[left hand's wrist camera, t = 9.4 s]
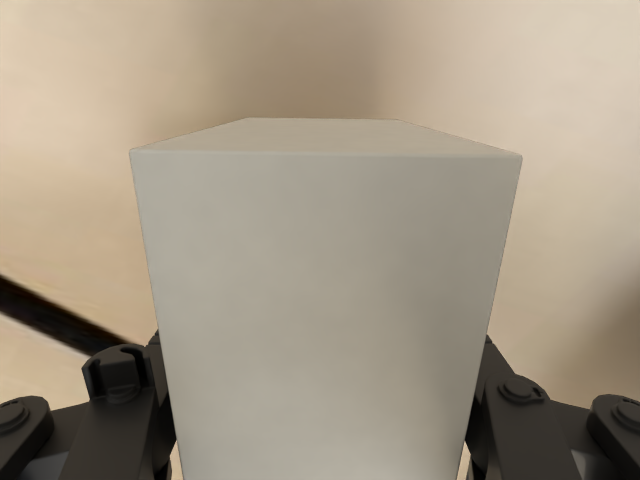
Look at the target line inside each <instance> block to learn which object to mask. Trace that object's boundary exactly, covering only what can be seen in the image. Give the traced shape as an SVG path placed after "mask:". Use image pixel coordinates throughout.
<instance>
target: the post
mask: <svg viewBox="0 0 640 480" xmlns="http://www.w3.org/2000/svg"><path fill="white" fill-rule="evenodd" d="M129 156H130V162H131V168H132V174H133V180H134V186H135V192H136V198H137V204H138V210H139V216H140V222H141V228H142V234H143V240H144V246H145V252H146V258H147V264H148V270H149V276H150V282H151V288H152V294H153V300H154V306H155V312H156V318H157V324H158V330H159V336H160V342H161V348H162V354H163V360H164V366H165V372H166V378H167V384H168V390H169V396H170V402H171V408H172V414H173V420H174V426H175V432H176V438H177V444H178V450H179V456H180V462H181V468H182V474H183V480H456V479H457V475H458V470H459V465H460V460H461V455H462V450H463V445H464V441H465V436H466V431H467V426H468V421H469V416H470V411H471V407H472V402H473V397H474V392H475V387H476V382H477V378H478V373H479V368H480V363H481V358H482V353H483V348H484V344H485V339H486V334H487V329H488V324H489V319H490V314H491V310H492V305H493V300H494V295H495V290H496V285H497V281H498V276H499V271H500V266H501V261H502V256H503V251H504V247H505V242H506V237H507V232H508V227H509V222H510V217H511V213H512V208H513V203H514V198H515V193H516V188H517V184H518V179H519V174H520V169H521V164H522V155H520V154H517V153H513V152H510V151H506V150H503V149H499V148H495V147H492V146H488V145H485V144H481V143H478V142H474V141H471V140H467V139H464V138H460V137H457V136H453V135H450V134H446V133H443V132H439V131H436V130H432V129H429V128H425V127H421V126H418V125H414V124H411V123H407V122H404V121H400V120H393V119H324V118H256V117H248V118H244V119H241V120H237V121H233V122H229V123H226V124H222V125H218V126H215V127H211V128H207V129H204V130H200V131H196V132H192V133H189V134H185V135H181V136H178V137H174V138H170V139H167V140H163V141H159V142H156V143H152V144H148V145H144V146H141V147H137V148H133V149H131V150H130V151H129Z"/></svg>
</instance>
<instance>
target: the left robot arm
mask: <svg viewBox="0 0 640 480" xmlns="http://www.w3.org/2000/svg"><path fill="white" fill-rule="evenodd" d="M81 369H82V372H83V376H84V379H85V383H86V387H87V390H88V394H89V397H90V400H89V402H86V403H83V404H79V405H75V406H70V407H66V408H62V409H57V410H53V411H51V410H50V407H49V404H48V402H47V401H46V400H45V399H44V398H43V397H38V396H26V397H19V398H16V399H13V400H10V401H7V402H4V403H2V404H0V480H171V476H172V468H171V461H170V454H171V452H172V449H173V447H174V444H175V442H176V440H177V438H176V432H175V426H174V420H173V414H172V408H171V402H170V396H169V390H168V384H167V378H166V372H165V366H164V360H163V354H162V348H161V342H160V336H159V330H157V331H156V333H155V336H153V337H152V338H151V340H150V341H149V342H148V345H146V347H144V346H142V345H138V344H121V345H117V346H113V347H110V348H107V349H105V350H103V351H101V352H99V353H97V354H95V355H94V356H93V357H91V358H90V359H88V360H87V362H86V363H85V364H84V365H83V367H82V368H81ZM465 442H466V444H467V447H468V449H469V451H470V454H471V456H470V461H469V466H468V471H467V476H466V480H640V402H638V401H635V400H633V399H630V398H627V397H624V396H619V395H612V394H606V395H599V396H598V397H597V398H595V399H594V400H593V402H592V405H591V408H590V409H585V408H581V407H577V406H572V405H568V404H563V403H559V402H556V401H553V400H550V398H549V396H548V395H547V393H546V392H545V390H544V389H542V388H541V387H540V386H539V385H538V384H536V383H535V382H533V381H531V380H529V379H527V378H525V377H523V376H520V375H517V374H515V373H514V371H513V370H512V369H511V367H510V366H509V364H508V363H507V362H506V360H505V359H504V357H503V356H502V355H501V353H500V352H499V350H498V349H497V347H496V346H495V345H494V344H492V340H491V339H490V338H489V336H488V335H486V339H485V344H484V348H483V353H482V358H481V363H480V368H479V373H478V378H477V382H476V387H475V392H474V397H473V402H472V407H471V411H470V416H469V421H468V426H467V431H466V436H465Z"/></svg>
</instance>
